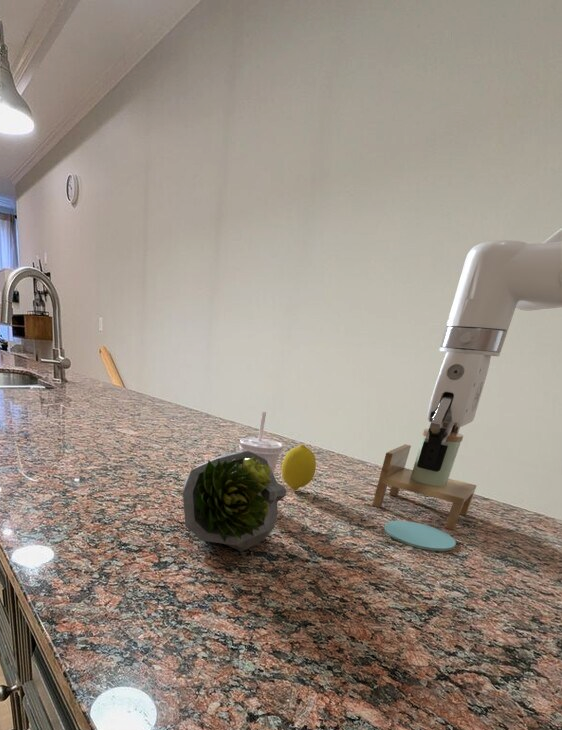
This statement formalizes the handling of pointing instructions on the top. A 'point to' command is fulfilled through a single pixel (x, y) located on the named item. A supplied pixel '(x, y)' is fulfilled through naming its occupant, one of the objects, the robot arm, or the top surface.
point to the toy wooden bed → (421, 485)
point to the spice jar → (444, 473)
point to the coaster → (420, 535)
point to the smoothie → (263, 446)
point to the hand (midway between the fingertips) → (433, 464)
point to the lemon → (298, 467)
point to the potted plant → (232, 500)
